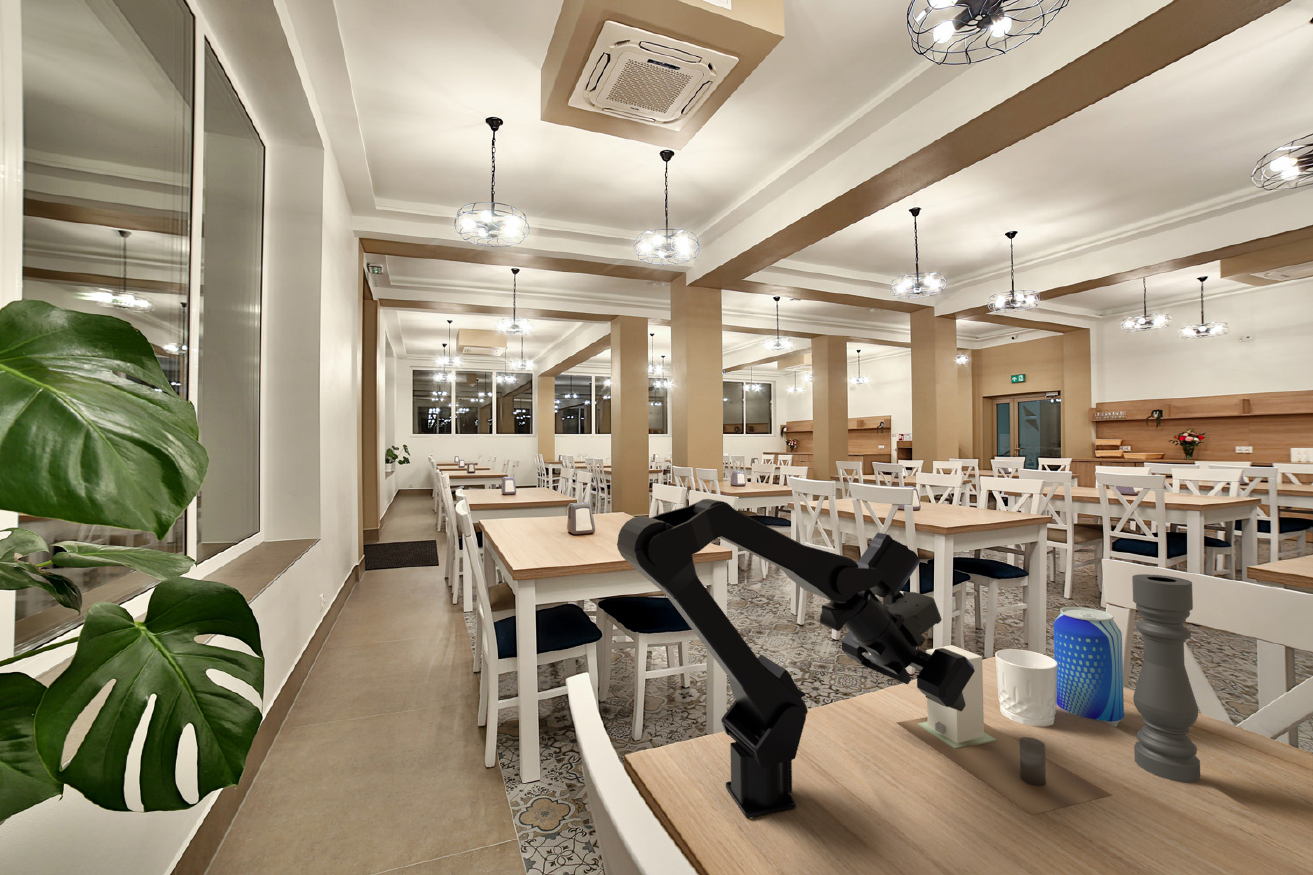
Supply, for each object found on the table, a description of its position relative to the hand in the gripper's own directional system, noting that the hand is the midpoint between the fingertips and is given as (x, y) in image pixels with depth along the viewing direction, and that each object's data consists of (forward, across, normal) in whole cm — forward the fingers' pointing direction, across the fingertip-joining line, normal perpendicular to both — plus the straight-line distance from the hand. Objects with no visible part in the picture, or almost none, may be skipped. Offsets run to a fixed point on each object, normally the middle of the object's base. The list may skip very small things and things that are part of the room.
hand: (934, 693), depth 80 cm
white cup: (+18, 0, -7) cm, 20 cm away
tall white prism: (+7, 0, +1) cm, 7 cm away
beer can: (+26, -2, -15) cm, 30 cm away
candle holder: (+20, -16, -9) cm, 27 cm away
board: (+8, -6, +3) cm, 10 cm away
